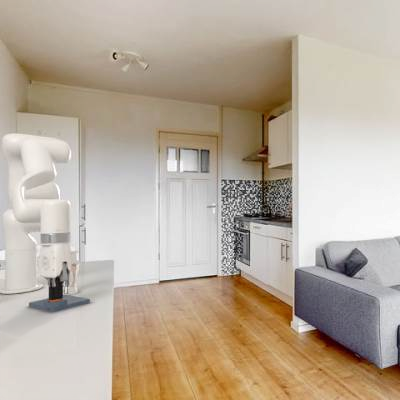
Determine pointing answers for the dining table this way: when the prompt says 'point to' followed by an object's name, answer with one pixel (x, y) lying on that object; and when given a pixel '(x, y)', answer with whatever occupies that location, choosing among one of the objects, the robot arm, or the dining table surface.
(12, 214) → the robot arm
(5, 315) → the dining table surface
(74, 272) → the beer glass
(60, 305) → the scale
